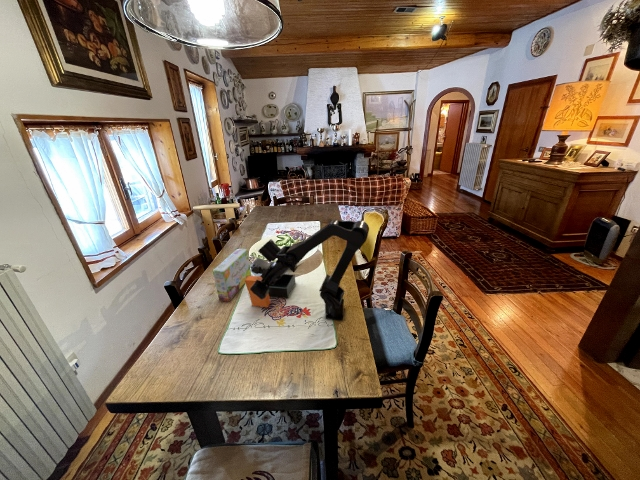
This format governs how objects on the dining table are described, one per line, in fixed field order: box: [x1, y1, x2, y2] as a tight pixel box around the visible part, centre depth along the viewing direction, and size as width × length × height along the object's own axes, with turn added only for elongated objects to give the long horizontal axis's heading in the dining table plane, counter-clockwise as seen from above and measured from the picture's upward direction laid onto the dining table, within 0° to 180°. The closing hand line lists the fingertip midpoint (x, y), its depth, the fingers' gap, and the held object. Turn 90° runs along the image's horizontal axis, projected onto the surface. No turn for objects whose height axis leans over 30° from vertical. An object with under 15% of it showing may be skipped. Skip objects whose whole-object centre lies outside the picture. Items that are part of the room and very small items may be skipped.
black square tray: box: [268, 273, 296, 299], centre depth 113 cm, size 11×11×5 cm
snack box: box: [212, 248, 252, 302], centre depth 114 cm, size 21×6×15 cm, turn 168°
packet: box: [245, 275, 272, 308], centre depth 102 cm, size 7×3×13 cm, turn 74°
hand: (255, 290), depth 102 cm, fingers closed on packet, 4 cm apart
